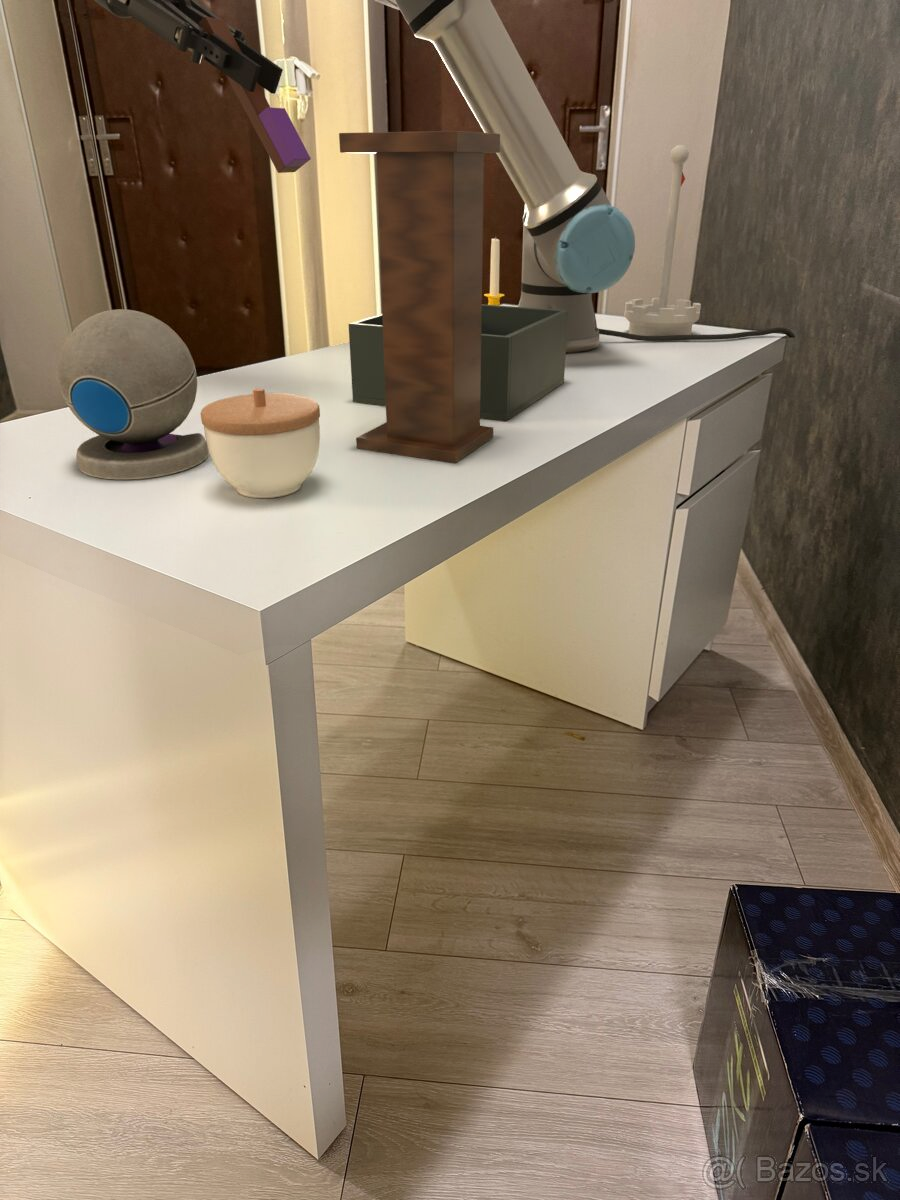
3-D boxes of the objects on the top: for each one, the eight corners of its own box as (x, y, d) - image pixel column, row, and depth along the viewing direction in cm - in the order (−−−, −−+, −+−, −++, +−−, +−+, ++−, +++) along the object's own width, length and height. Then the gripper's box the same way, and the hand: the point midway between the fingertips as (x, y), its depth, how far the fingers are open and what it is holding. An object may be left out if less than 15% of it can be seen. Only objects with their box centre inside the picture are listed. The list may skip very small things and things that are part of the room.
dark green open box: (427, 368, 125) (426, 300, 120) (564, 383, 117) (568, 310, 112) (352, 401, 108) (348, 323, 103) (506, 421, 100) (509, 337, 95)
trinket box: (322, 505, 75) (314, 403, 71) (202, 509, 74) (186, 406, 70) (328, 467, 85) (321, 374, 80) (221, 470, 84) (208, 377, 79)
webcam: (227, 445, 91) (209, 302, 84) (170, 484, 80) (142, 323, 73) (121, 438, 94) (94, 298, 87) (51, 475, 83) (13, 319, 76)
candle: (512, 324, 159) (515, 236, 152) (493, 327, 156) (495, 237, 148) (493, 320, 162) (495, 234, 155) (474, 324, 159) (475, 235, 152)
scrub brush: (198, 23, 92) (214, 6, 90) (218, 27, 94) (234, 10, 93) (278, 173, 96) (294, 159, 94) (294, 172, 99) (311, 158, 97)
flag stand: (685, 343, 141) (711, 143, 127) (612, 337, 147) (629, 144, 133) (704, 331, 152) (730, 144, 138) (635, 325, 157) (653, 145, 143)
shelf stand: (356, 448, 90) (338, 132, 76) (400, 424, 98) (391, 135, 84) (455, 463, 86) (456, 130, 72) (493, 437, 94) (500, 133, 80)
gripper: (147, 10, 103) (295, 116, 102) (42, -9, 90) (211, 112, 89) (162, -58, 99) (317, 51, 98) (54, -89, 86) (232, 37, 84)
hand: (266, 80), depth 93 cm, fingers closed on scrub brush, 4 cm apart
